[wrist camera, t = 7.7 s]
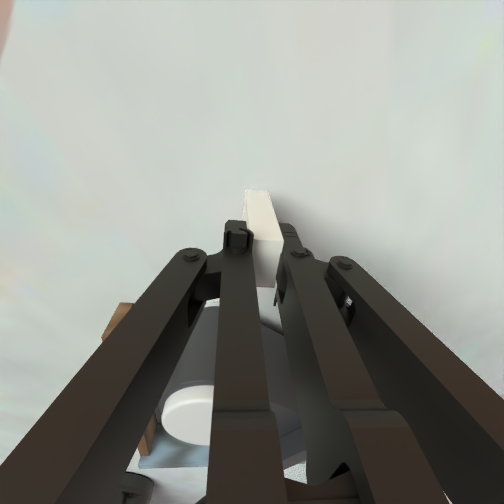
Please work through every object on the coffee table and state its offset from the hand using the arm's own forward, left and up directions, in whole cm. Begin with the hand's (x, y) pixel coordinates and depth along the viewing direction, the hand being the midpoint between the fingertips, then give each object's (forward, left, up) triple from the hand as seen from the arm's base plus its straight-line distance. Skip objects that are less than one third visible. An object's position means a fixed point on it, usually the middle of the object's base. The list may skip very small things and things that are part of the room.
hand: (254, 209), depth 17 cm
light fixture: (0, -16, -3) cm, 16 cm away
